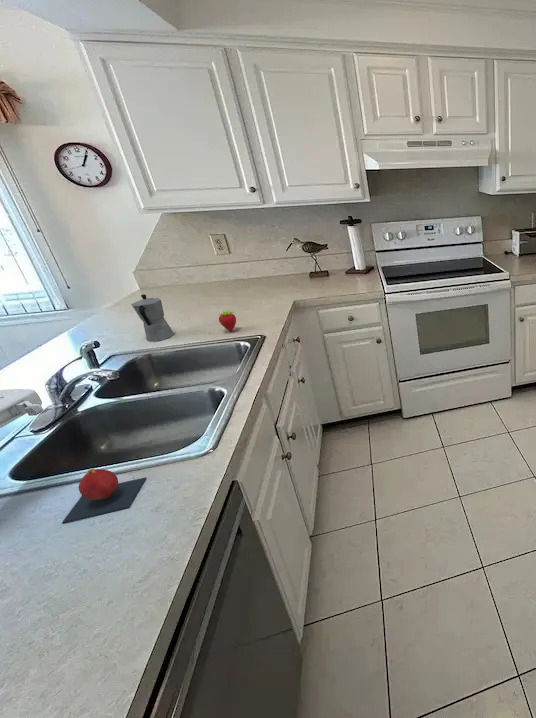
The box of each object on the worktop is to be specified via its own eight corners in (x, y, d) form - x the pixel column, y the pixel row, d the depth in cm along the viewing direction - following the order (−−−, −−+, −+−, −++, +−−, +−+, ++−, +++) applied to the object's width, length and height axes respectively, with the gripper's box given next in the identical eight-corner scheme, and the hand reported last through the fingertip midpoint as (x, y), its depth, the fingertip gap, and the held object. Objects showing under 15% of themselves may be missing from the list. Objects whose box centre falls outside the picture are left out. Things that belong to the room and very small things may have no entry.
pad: (62, 523, 81) (61, 522, 81) (86, 491, 89) (85, 490, 89) (129, 508, 85) (128, 506, 84) (146, 478, 92) (146, 477, 92)
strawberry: (237, 326, 173) (230, 304, 169) (241, 332, 168) (234, 309, 163) (221, 330, 169) (213, 307, 165) (224, 336, 164) (216, 312, 160)
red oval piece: (81, 505, 85) (62, 475, 82) (112, 485, 90) (95, 456, 87) (100, 511, 83) (82, 481, 80) (130, 490, 88) (114, 462, 85)
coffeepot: (150, 333, 169) (132, 291, 161) (178, 329, 172) (161, 288, 165) (140, 348, 156) (120, 303, 148) (170, 342, 160) (152, 299, 152)
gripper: (-147, 449, 68) (-64, 446, 68) (-9, 384, 86) (56, 382, 86) (-121, 478, 70) (-41, 476, 70) (7, 409, 89) (71, 407, 89)
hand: (14, 424), depth 78 cm, fingers open, 8 cm apart
